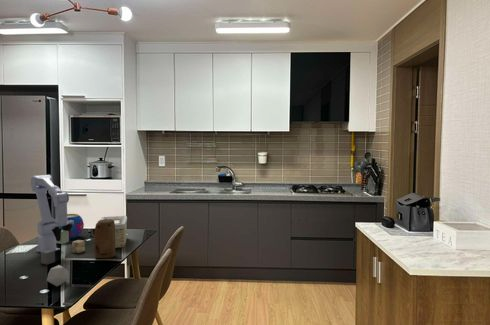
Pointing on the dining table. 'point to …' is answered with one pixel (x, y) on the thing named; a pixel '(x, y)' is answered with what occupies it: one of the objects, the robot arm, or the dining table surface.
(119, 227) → the storage basket
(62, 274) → the die
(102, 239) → the brown rough elongated lump
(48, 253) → the charcoal block
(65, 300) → the dining table surface
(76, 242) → the beech block
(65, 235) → the sage block
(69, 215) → the ceramic pot
